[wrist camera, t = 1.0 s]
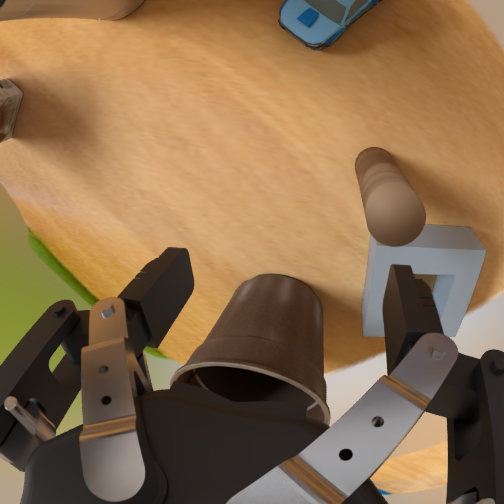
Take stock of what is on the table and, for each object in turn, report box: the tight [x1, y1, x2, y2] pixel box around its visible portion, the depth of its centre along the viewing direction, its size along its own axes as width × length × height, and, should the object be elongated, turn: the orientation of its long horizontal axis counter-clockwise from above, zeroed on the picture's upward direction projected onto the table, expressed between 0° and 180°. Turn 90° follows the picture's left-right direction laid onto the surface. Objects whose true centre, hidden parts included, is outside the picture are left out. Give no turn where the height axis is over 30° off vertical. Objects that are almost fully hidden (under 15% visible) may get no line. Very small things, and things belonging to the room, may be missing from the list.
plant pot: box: [170, 274, 330, 426], centre depth 34 cm, size 16×16×16 cm
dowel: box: [355, 147, 426, 247], centre depth 23 cm, size 4×4×12 cm
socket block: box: [362, 224, 486, 337], centre depth 30 cm, size 12×12×5 cm
